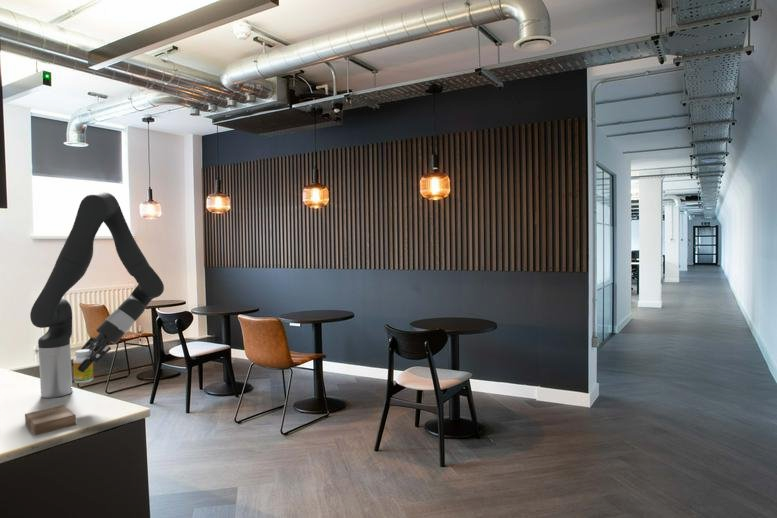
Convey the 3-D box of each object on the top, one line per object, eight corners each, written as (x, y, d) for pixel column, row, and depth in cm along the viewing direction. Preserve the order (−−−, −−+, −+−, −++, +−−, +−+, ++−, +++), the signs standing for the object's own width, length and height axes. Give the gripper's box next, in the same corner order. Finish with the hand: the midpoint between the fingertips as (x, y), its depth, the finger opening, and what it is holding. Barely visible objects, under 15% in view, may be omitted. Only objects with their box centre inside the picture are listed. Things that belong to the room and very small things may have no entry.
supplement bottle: (84, 383, 159) (83, 353, 158) (69, 382, 160) (68, 352, 159) (97, 378, 164) (96, 349, 163) (83, 377, 165) (82, 348, 164)
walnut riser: (25, 423, 150) (24, 413, 150) (64, 414, 157) (63, 405, 157) (35, 435, 142) (35, 424, 141) (76, 424, 149) (75, 414, 149)
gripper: (99, 316, 171) (60, 358, 163) (115, 322, 161) (73, 366, 153) (117, 329, 175) (79, 370, 167) (133, 336, 165) (93, 380, 157)
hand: (76, 368), depth 160 cm, fingers closed on supplement bottle, 5 cm apart
